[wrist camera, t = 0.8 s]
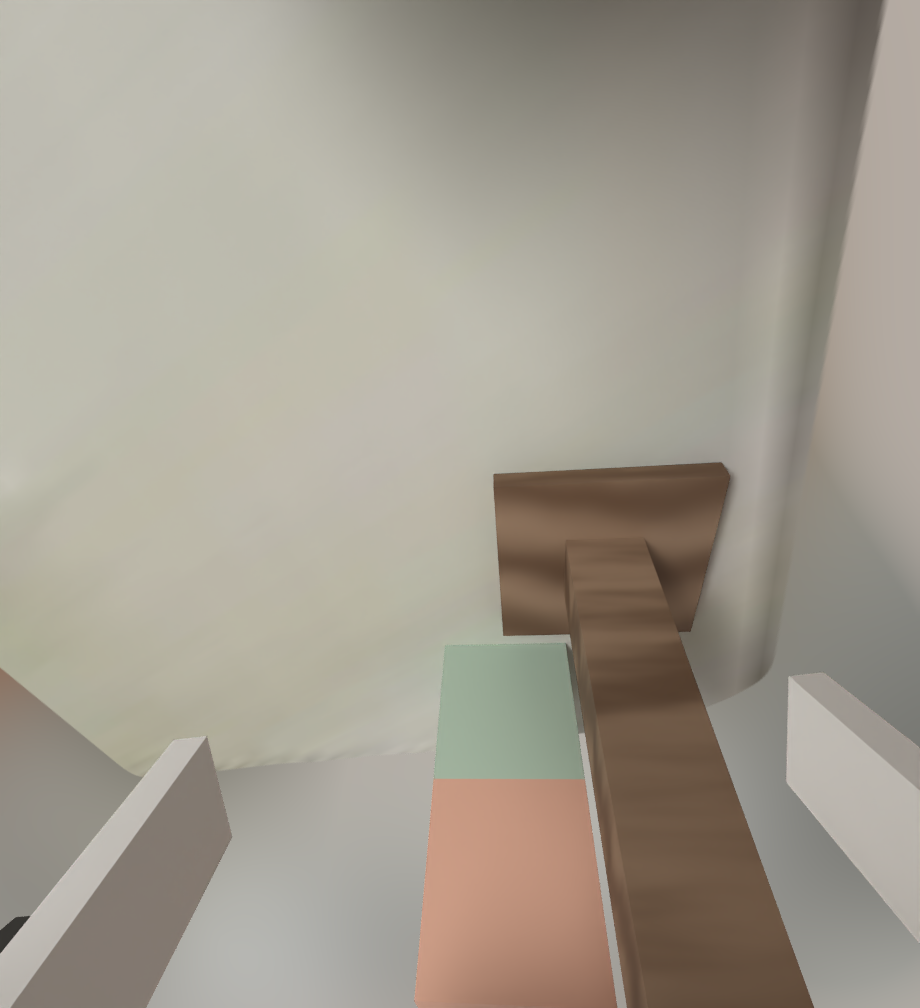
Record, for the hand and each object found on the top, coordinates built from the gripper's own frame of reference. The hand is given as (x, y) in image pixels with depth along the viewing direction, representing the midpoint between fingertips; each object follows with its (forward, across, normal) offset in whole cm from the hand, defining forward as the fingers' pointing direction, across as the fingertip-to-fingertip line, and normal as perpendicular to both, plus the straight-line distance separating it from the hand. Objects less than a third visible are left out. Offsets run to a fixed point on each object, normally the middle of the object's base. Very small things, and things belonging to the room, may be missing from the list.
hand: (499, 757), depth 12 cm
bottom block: (+31, +1, -17) cm, 35 cm away
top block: (+21, 0, -21) cm, 30 cm away
